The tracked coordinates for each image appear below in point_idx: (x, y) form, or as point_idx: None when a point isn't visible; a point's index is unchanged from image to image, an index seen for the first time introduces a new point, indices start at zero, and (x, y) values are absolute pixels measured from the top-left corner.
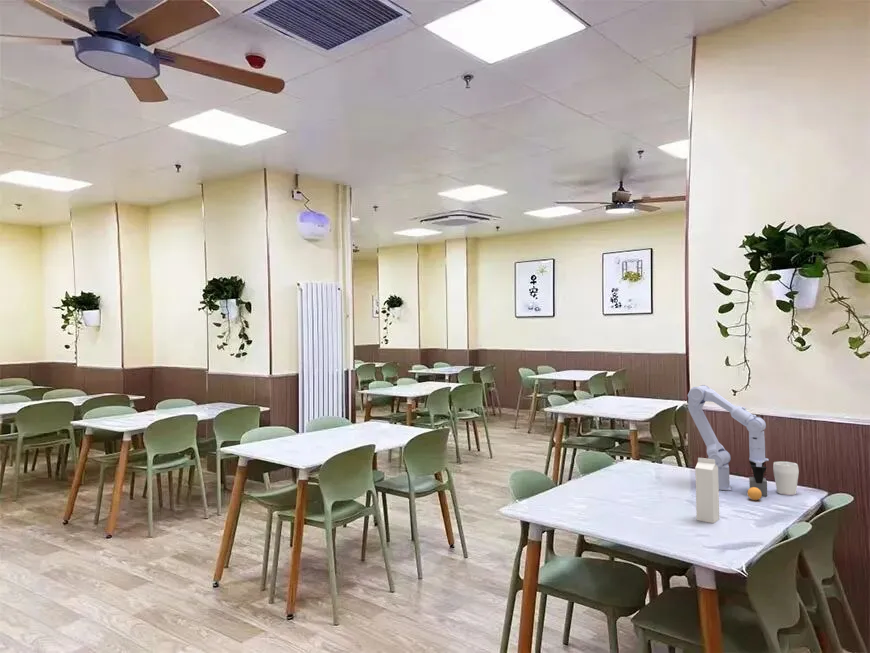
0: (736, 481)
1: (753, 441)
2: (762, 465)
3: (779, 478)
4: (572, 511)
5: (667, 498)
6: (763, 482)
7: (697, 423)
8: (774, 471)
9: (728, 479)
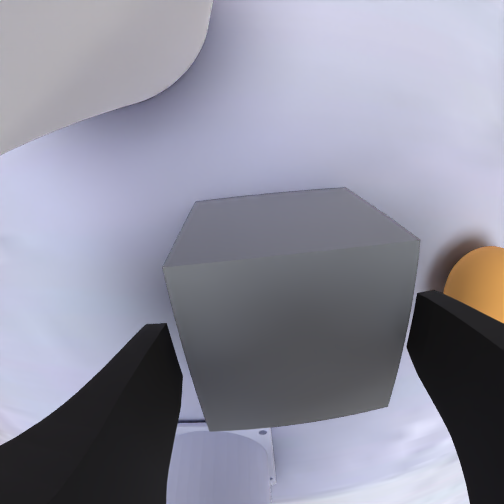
0: (13, 379)
1: None
2: (73, 496)
3: (183, 24)
4: None
5: (432, 487)
6: (407, 277)
7: None
8: (33, 124)
9: (233, 482)
